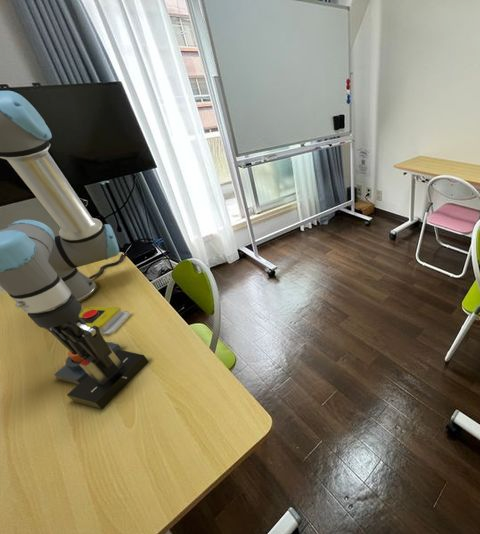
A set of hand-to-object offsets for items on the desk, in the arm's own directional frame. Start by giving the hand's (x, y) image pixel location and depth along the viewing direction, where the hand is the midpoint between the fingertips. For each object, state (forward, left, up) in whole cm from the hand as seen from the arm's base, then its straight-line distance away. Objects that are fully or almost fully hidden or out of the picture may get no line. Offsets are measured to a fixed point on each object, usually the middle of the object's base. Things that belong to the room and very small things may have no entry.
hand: (108, 372), depth 74 cm
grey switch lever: (0, 0, -1) cm, 1 cm away
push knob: (-3, -12, 0) cm, 12 cm away
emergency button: (-16, -24, -4) cm, 30 cm away
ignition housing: (-3, -12, -4) cm, 13 cm away
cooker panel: (0, -1, -4) cm, 4 cm away
